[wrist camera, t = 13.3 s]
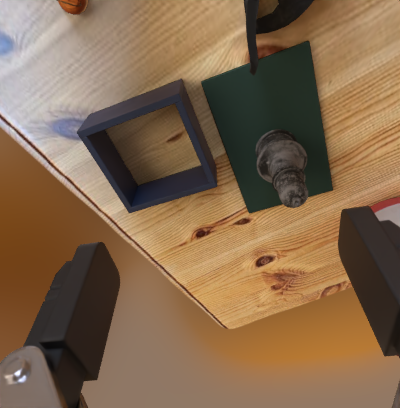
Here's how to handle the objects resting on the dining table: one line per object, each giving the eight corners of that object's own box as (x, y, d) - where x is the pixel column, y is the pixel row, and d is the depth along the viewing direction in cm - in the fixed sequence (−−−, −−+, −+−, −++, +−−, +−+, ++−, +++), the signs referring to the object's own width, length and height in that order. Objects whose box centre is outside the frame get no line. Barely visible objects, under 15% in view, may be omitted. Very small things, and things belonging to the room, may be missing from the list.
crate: (89, 114, 39) (76, 132, 35) (181, 78, 37) (178, 93, 33) (135, 191, 46) (129, 213, 42) (216, 165, 44) (217, 186, 40)
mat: (201, 81, 37) (201, 82, 36) (308, 40, 34) (309, 41, 34) (248, 211, 48) (249, 213, 48) (331, 187, 46) (333, 190, 45)
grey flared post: (309, 146, 41) (341, 204, 32) (274, 176, 44) (294, 237, 34) (278, 117, 39) (302, 169, 29) (243, 150, 42) (255, 208, 32)
